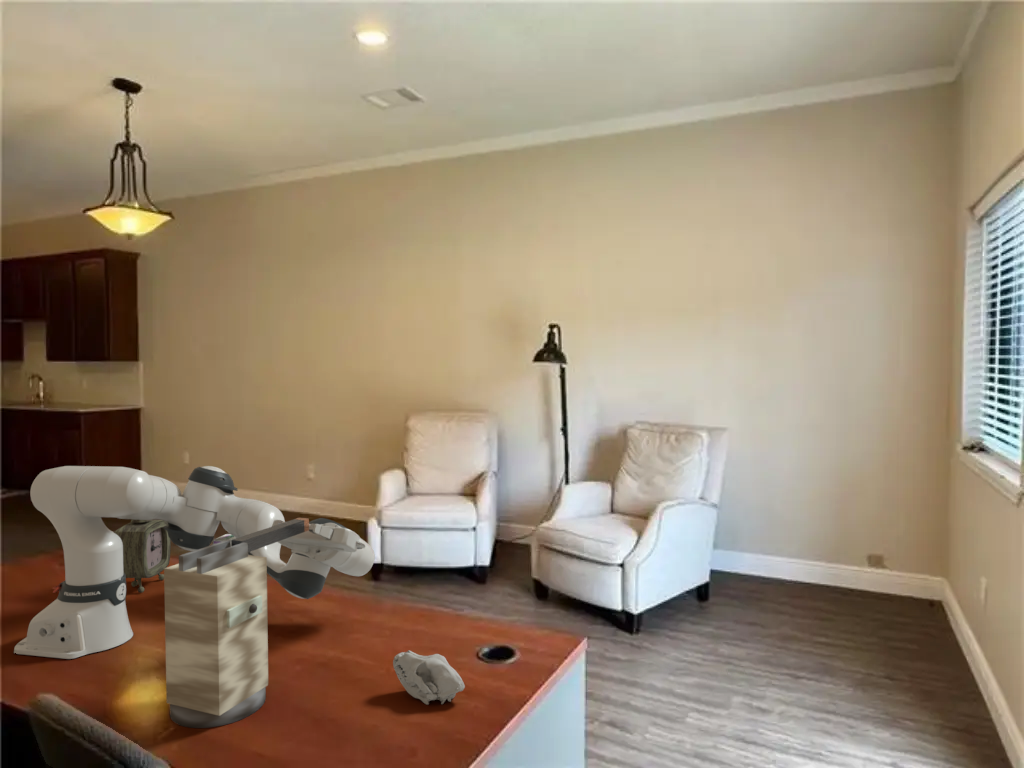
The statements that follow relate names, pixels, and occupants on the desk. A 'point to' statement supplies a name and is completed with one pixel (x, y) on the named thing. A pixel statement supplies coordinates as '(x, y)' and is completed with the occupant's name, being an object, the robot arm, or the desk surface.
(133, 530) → the tabletop clock
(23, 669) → the desk surface
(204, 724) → the level stand
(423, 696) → the skull
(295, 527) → the bar
